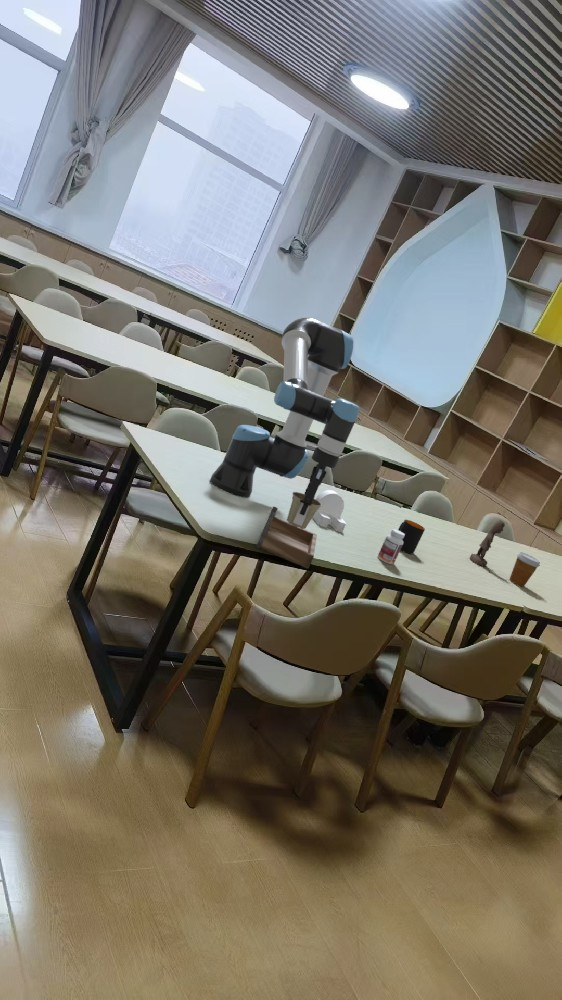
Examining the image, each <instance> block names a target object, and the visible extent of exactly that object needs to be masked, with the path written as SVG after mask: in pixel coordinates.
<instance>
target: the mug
mask: <svg viewBox="0 0 562 1000" xmlns="http://www.w3.org/2000/svg"><path fill="white" fill-rule="evenodd" d="M397 530H399V531H401V532H402V533H404V534H405V536H404V538H403V539H402V540H403V545H402V548H401V550H400V552H403V553H406V554H409V555H413V554H414V553H415V551H416V549H417V547H418V545H419V543H420V541H421V538H422V536H423V535H424V532H425V530H426V529H425V527H424V526H422V525H421V524H419V523H417V522H414V521H412V520H409V519H404V520H403V522H402V523H401V524H400V525H399V527H398V529H397Z"/></svg>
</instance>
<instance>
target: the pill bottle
mask: <svg viewBox="0 0 562 1000" xmlns="http://www.w3.org/2000/svg"><path fill="white" fill-rule="evenodd" d="M404 536H405V534H404V533H402V532H401V531H399V530H398V529H396V528H392V529H391V531H390V534H388V535H386V536H385V538H384V541H383V543H382V546H381V547H380V550H379V552H378V554H377V558H378V560H380V561H381V562H383V563H386V564H388V565H394V564H395V563H396V561H397V559H398V556H399V554H400V552H401V548H402V545H403V540H402V539H403V538H404Z"/></svg>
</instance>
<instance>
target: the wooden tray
mask: <svg viewBox="0 0 562 1000" xmlns="http://www.w3.org/2000/svg"><path fill="white" fill-rule="evenodd" d="M278 509H279V508H278V507H276V506H272V509H271V510H270V513H269V515H268V517H267V519H266V522H265V524H264V527H263V529H262V531H261V533H260V536H259V539H258V541H257V544H256V545H255V546H256V548H257V549H260V550H263V551H264V552H267V553H270V554H272V555H274V556H277V557H279V558H282V559H283V560H286V561H289V562H290V563H294V564H295V565H299V566H301V567H303V568H305V569H307V570H308V569H309V568H310V566H311V564H312V561H313V560H314V557H315V551H316V544H317V538H318V534H316V533H314V532H311V531H309V530H307V529H306V528H305V529H301V528H300V527H295V526H293V525H291V524H290V523H288V521H287V520H283V519H281V518H278V517H276V514H277V511H278Z"/></svg>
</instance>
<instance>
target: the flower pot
mask: <svg viewBox="0 0 562 1000" xmlns="http://www.w3.org/2000/svg"><path fill="white" fill-rule="evenodd" d="M304 497H305V494H304V493H301V492H299V491H298V492H297V491H293V492H292V500H291V505H290V508H289V510H288V514H287V518H286V522H288V523H290V524H291V525H293V526H295V527H300V528H301V529H305V530H306V529H307V526H309V524H310V522H311V520H313V518H312V517H313V516H314V514H315V512H316V511H317V510H318V509H319V508H320V507H321V506H322V504H321V503H320V502H319V501H317V500H316V498H314V499H313V501H312V504H311V505H310V508H309V510H308V513H307V515H306V517H305V520H304V522H303V524H302V526H300V525H298V524H295V523H293V521H294V519H295V517H296V514H297V512H298V510H299V507H300V505H301V502H300V500H303V499H304ZM307 500H309V499H307Z"/></svg>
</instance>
